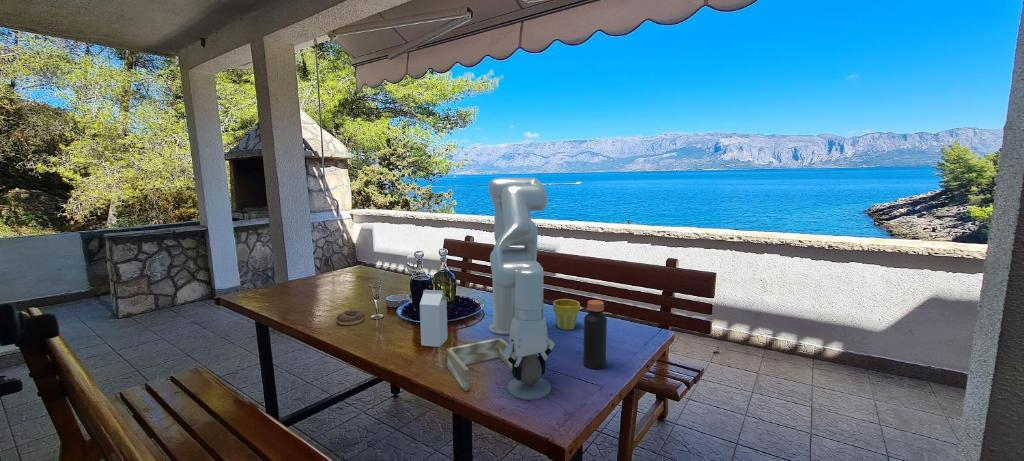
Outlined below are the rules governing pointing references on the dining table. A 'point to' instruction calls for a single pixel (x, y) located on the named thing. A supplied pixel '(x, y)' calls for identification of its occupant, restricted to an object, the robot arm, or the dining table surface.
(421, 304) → the milk carton
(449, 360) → the holder
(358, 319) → the donut
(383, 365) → the dining table surface
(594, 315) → the bottle
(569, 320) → the plant pot
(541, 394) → the mat
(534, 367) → the vase
